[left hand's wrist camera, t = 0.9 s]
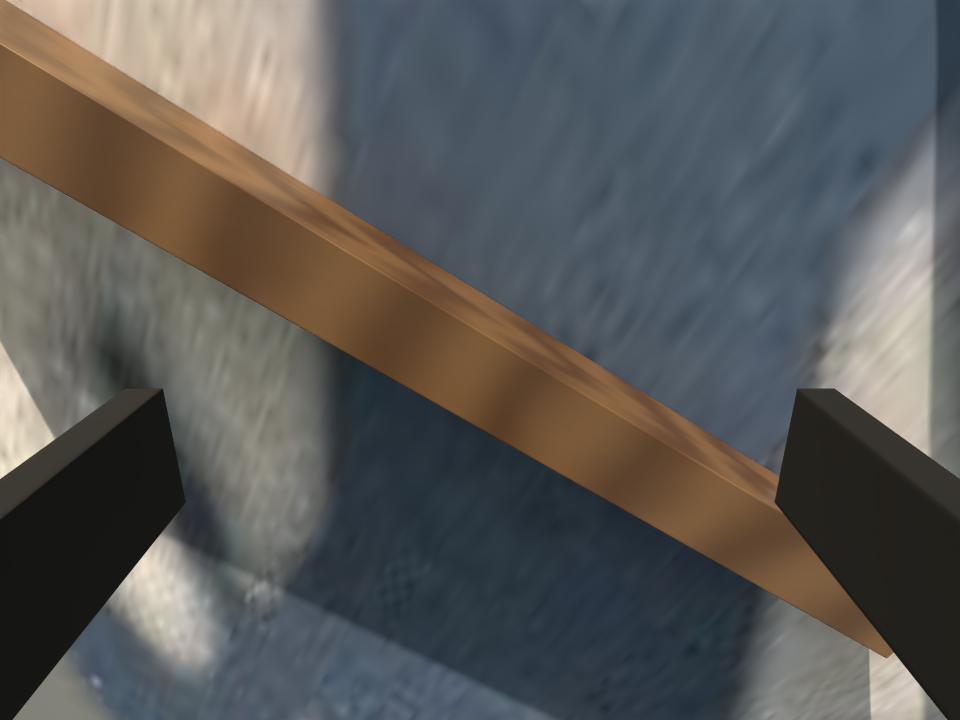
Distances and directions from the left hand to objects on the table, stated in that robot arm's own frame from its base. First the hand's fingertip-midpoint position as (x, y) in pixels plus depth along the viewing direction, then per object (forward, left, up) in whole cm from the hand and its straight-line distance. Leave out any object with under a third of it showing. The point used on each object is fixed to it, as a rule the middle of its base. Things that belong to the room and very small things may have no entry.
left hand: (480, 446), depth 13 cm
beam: (+5, -2, -25) cm, 25 cm away
